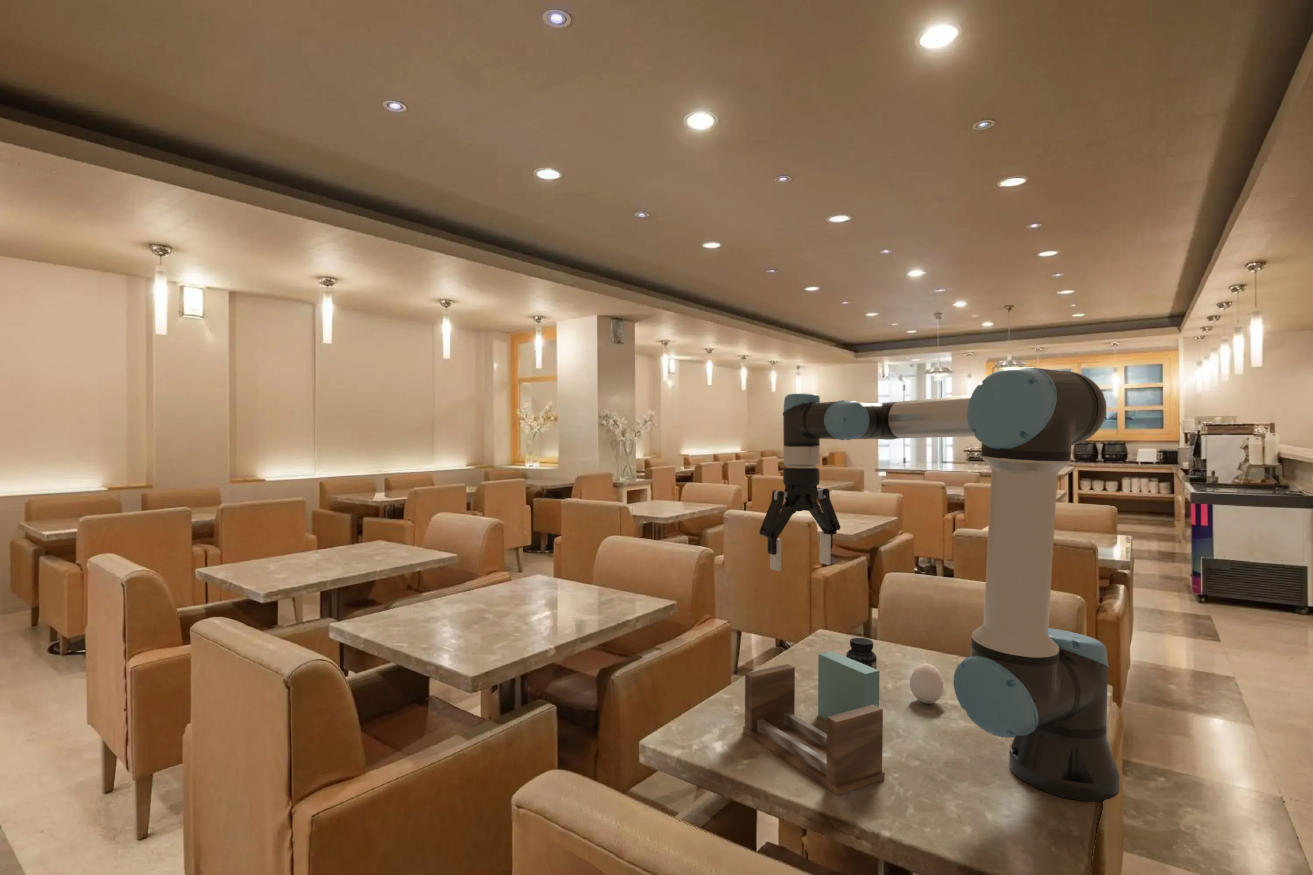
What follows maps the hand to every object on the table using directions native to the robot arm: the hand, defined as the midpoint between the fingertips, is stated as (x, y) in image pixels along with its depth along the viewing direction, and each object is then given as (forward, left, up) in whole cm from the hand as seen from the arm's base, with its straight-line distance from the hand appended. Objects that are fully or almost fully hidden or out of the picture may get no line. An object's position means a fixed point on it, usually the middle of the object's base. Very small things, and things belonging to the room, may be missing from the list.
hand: (800, 566), depth 141 cm
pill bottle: (-7, -11, -27) cm, 30 cm away
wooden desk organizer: (-22, +17, -26) cm, 38 cm away
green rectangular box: (-17, +3, -27) cm, 32 cm away
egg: (-17, -19, -27) cm, 37 cm away
